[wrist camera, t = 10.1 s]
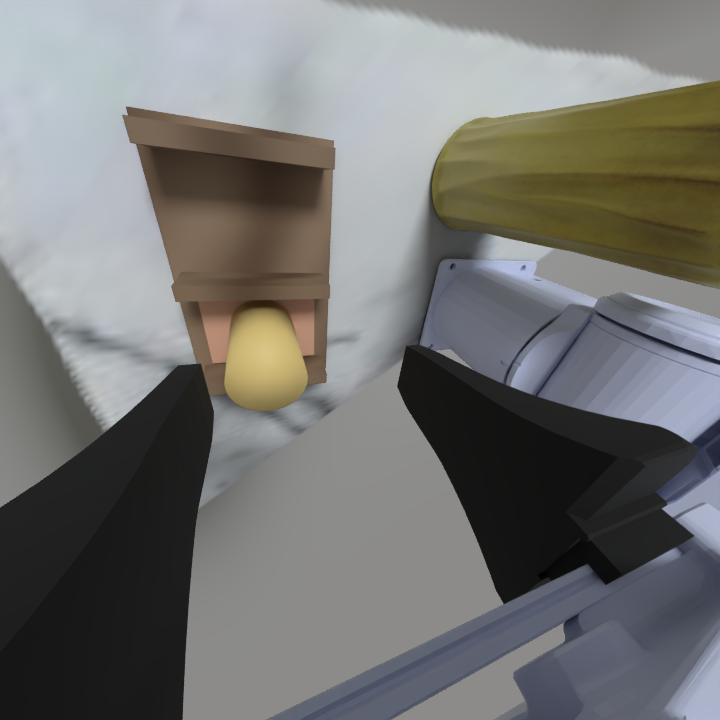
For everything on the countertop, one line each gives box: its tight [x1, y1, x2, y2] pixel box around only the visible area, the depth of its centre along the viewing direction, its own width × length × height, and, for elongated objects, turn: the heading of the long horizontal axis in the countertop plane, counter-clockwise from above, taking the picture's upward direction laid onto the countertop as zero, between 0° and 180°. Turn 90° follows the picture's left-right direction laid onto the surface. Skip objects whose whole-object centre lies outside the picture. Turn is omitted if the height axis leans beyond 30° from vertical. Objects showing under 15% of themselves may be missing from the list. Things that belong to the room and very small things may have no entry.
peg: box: [224, 300, 308, 411], centre depth 16 cm, size 4×4×6 cm
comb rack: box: [122, 107, 335, 396], centre depth 16 cm, size 9×15×3 cm, turn 174°
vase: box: [432, 81, 720, 289], centre depth 12 cm, size 6×6×14 cm
